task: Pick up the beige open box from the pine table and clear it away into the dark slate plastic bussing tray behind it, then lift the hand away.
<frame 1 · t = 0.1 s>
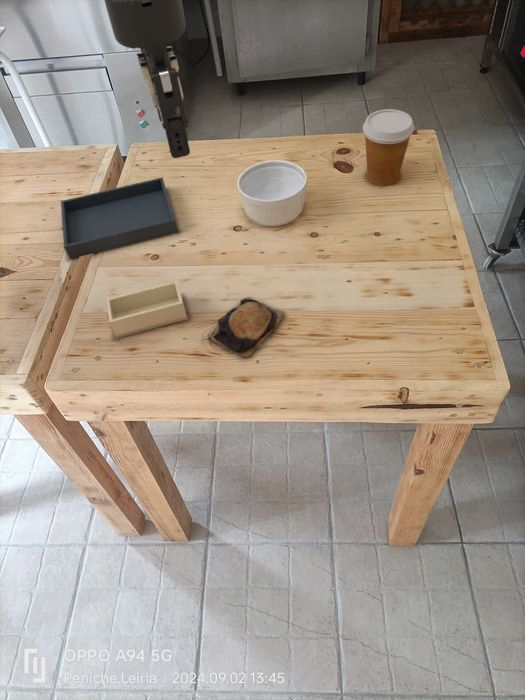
hand: (174, 137, 65), 32 cm above the table, tool pointing down, fingers open, 8 cm apart
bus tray: (120, 222, 107), on the table
beige open box: (150, 317, 90), on the table
ramekin: (274, 210, 105), on the table
disposable coffee cup: (382, 177, 109), on the table
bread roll: (247, 328, 87), on the table
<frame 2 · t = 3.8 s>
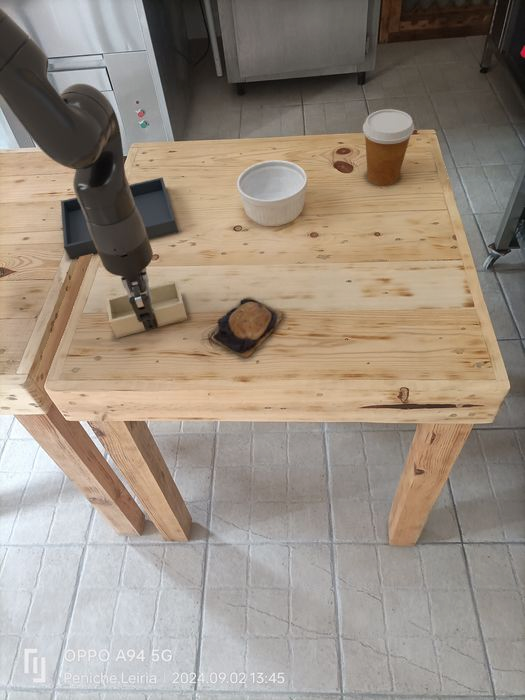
hand: (149, 314, 89), 1 cm above the table, tool pointing down, fingers closed on beige open box, 5 cm apart
beige open box: (150, 317, 90), on the table, touching gripper
everything else where it was.
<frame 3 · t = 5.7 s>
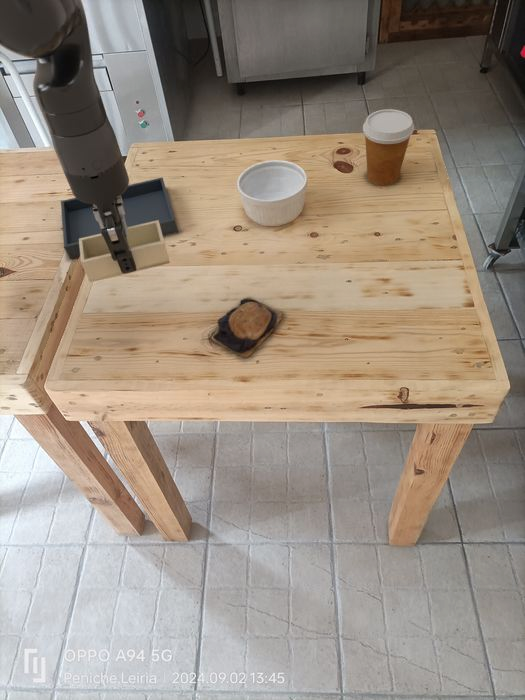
hand: (127, 257, 80), 13 cm above the table, tool pointing down, fingers closed on beige open box, 5 cm apart
beige open box: (128, 261, 80), point 12 cm above the table, touching gripper
everything else where it was.
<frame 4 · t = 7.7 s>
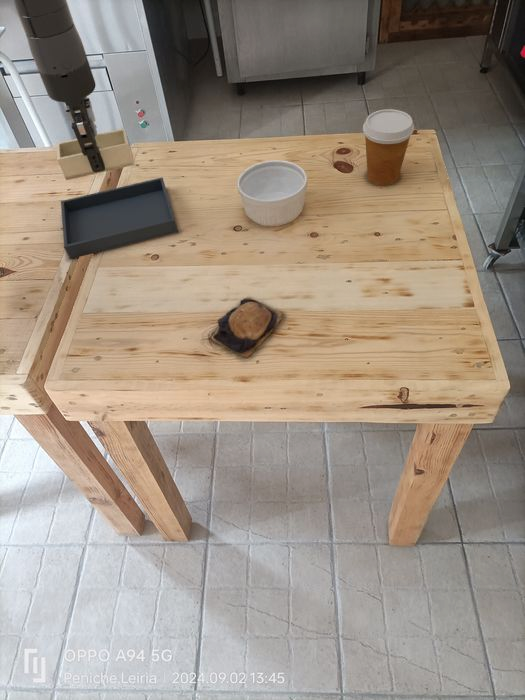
hand: (97, 160, 93), 15 cm above the table, tool pointing down, fingers closed on beige open box, 5 cm apart
beige open box: (99, 164, 94), point 15 cm above the table, touching gripper
everything else where it was.
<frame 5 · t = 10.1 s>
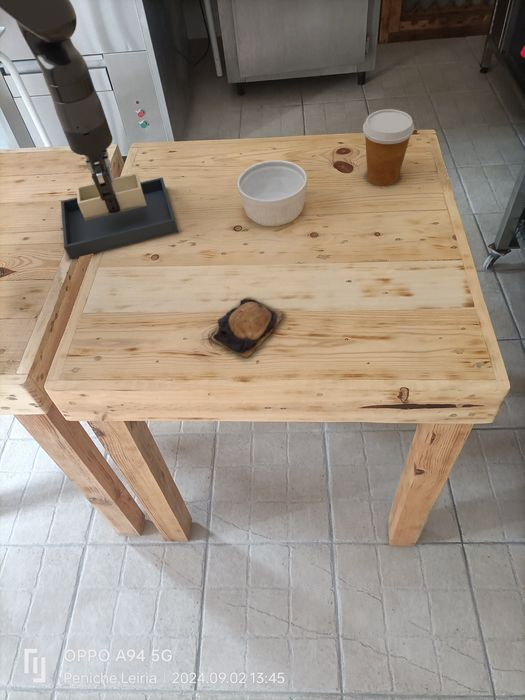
hand: (113, 202, 103), 5 cm above the table, tool pointing down, fingers closed on beige open box, 5 cm apart
beige open box: (114, 205, 104), point 4 cm above the table, touching gripper
everything else where it was.
when the fingers open (1 cm above the table, at t = 11.6 s): beige open box stays where it is, resting on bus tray.
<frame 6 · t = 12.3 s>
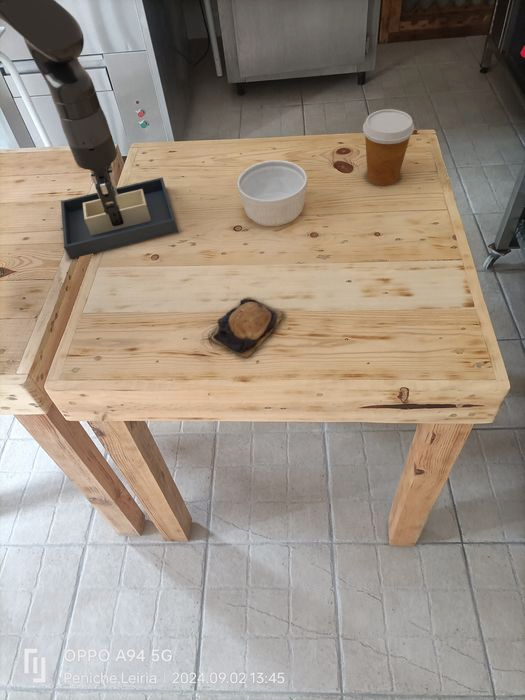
hand: (116, 211, 105), 3 cm above the table, tool pointing down, fingers open, 8 cm apart
beige open box: (120, 220, 107), resting on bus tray
everything else where it was.
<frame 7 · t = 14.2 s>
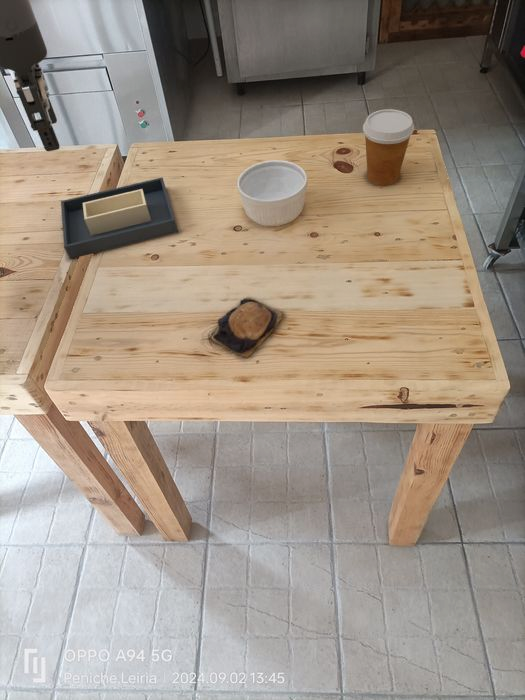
hand: (52, 135, 84), 23 cm above the table, tool pointing down, fingers open, 8 cm apart
nothing on the table moved.
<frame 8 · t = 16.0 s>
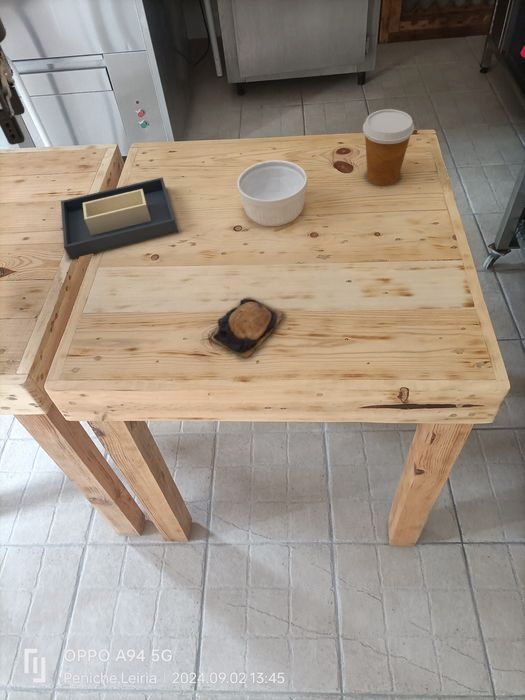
hand: (18, 127, 77), 28 cm above the table, tool pointing down, fingers open, 8 cm apart
nothing on the table moved.
at the end: beige open box inside the target area in the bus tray (0.1 cm from its centre), point 0.5 cm above the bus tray's base; beige open box tilted 0°; the gripper is holding nothing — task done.
